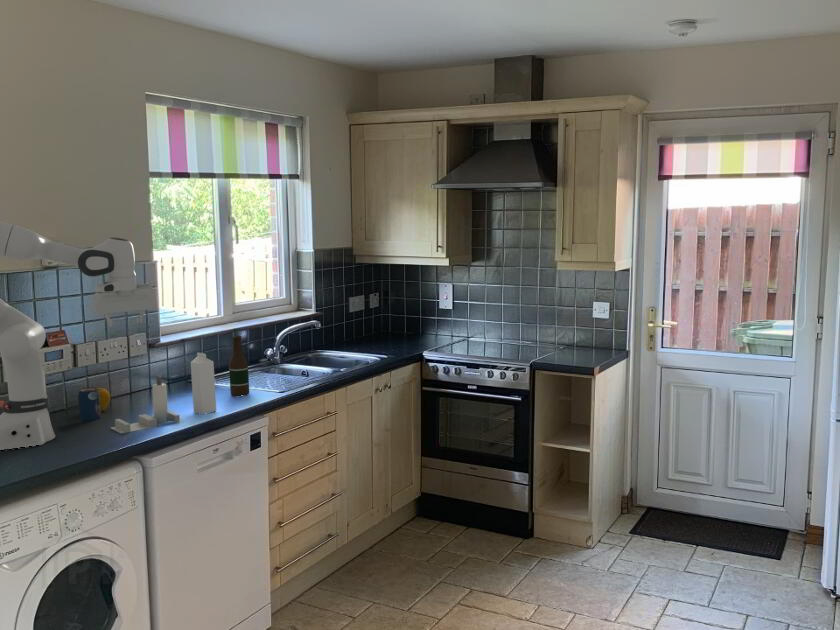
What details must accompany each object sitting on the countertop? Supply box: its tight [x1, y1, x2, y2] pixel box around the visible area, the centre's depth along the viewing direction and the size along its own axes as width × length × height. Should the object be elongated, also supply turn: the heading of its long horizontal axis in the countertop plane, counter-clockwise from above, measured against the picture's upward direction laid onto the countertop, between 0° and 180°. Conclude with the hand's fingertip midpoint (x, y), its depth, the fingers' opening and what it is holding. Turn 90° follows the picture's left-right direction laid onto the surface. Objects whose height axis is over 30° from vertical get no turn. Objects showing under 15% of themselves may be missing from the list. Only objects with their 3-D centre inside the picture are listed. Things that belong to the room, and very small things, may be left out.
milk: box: [190, 352, 217, 415], centre depth 293 cm, size 6×6×22 cm
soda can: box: [77, 387, 102, 423], centre depth 283 cm, size 7×7×12 cm
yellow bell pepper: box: [96, 387, 111, 413], centre depth 300 cm, size 8×8×9 cm
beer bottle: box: [228, 334, 250, 397], centre depth 320 cm, size 8×8×24 cm
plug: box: [151, 375, 168, 423], centre depth 274 cm, size 4×4×16 cm
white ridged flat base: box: [110, 409, 184, 434], centre depth 272 cm, size 22×12×4 cm, turn 130°
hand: (125, 325), depth 275 cm, fingers open, 8 cm apart
